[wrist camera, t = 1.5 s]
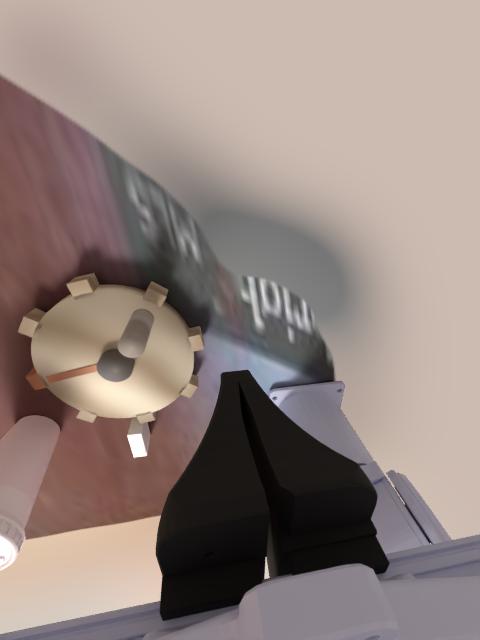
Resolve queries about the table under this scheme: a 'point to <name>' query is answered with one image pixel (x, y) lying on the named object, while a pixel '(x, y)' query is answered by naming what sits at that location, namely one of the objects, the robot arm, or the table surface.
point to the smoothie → (22, 478)
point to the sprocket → (112, 350)
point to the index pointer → (139, 437)
